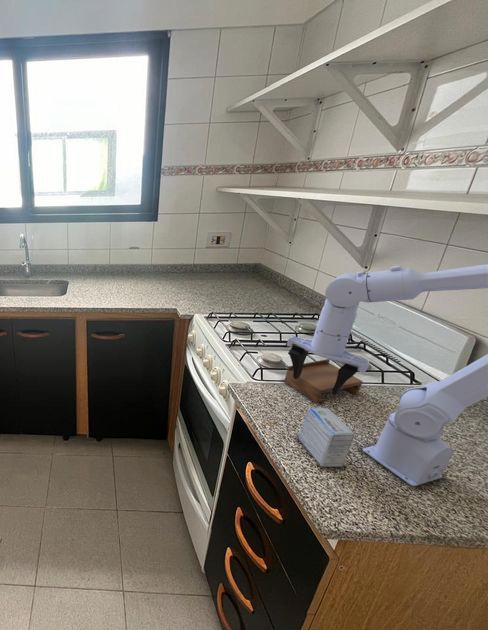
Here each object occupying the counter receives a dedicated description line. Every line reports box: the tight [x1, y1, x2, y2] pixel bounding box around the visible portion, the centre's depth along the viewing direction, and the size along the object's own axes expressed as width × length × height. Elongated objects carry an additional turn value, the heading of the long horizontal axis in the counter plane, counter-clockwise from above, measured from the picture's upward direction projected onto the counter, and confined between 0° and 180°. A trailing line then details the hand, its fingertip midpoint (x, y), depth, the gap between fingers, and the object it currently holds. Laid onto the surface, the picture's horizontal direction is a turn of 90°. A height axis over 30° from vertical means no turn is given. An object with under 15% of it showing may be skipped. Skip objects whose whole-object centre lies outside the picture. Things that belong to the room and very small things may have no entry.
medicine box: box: [298, 407, 356, 468], centre depth 71 cm, size 8×4×9 cm, turn 179°
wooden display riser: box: [283, 358, 364, 404], centre depth 93 cm, size 10×14×5 cm
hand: (314, 384), depth 78 cm, fingers open, 7 cm apart
